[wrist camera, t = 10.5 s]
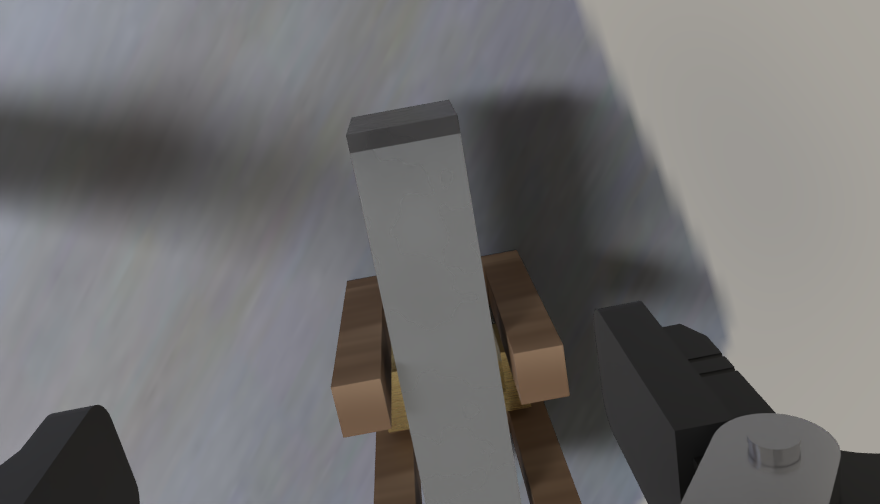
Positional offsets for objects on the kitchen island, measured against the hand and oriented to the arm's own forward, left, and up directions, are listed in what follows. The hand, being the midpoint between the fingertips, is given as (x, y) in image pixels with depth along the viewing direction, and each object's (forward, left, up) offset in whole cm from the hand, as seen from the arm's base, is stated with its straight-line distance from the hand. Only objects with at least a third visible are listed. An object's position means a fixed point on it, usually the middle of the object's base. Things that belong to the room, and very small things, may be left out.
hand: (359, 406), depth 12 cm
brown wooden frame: (+10, +1, -22) cm, 24 cm away
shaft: (+7, +1, -17) cm, 18 cm away
